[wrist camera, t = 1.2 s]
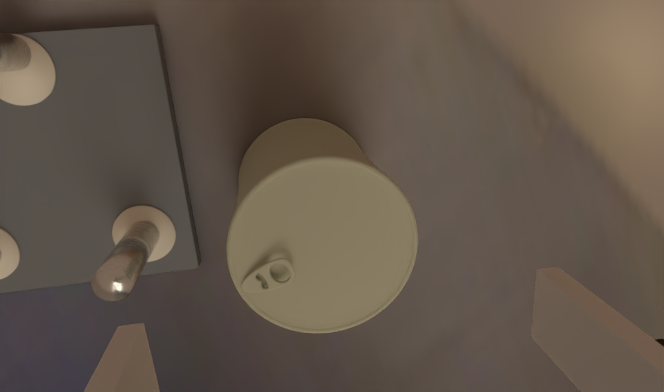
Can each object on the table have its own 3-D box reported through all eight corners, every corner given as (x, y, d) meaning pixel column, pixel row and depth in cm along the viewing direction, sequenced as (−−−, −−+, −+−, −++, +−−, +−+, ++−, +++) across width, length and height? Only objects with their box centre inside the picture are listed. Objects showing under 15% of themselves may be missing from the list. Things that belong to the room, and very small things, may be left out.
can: (214, 153, 31) (184, 214, 19) (337, 94, 31) (380, 121, 19) (274, 262, 34) (279, 370, 22) (386, 209, 34) (448, 291, 22)
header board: (200, 260, 33) (198, 269, 31) (-38, 290, 31) (-51, 301, 30) (158, 25, 28) (153, 24, 26) (-130, 44, 26) (-151, 44, 25)
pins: (163, 245, 31) (135, 298, 24) (-26, 267, 29) (-110, 330, 23) (117, 26, 26) (68, 19, 20) (-107, 41, 25) (-240, 38, 18)
